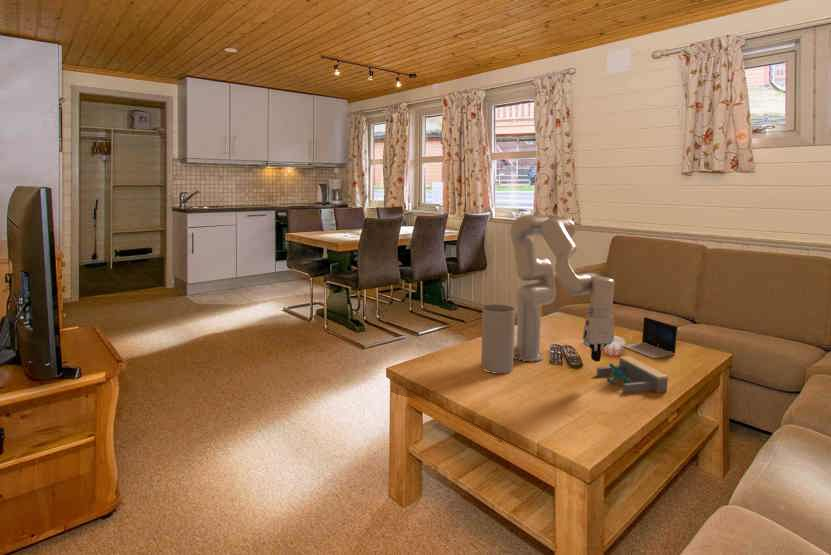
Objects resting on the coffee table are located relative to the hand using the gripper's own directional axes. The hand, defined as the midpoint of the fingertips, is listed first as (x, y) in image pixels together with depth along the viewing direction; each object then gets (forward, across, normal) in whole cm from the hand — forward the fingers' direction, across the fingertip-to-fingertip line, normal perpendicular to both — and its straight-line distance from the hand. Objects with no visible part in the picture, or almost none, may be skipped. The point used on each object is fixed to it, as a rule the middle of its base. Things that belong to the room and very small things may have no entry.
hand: (595, 360), depth 186 cm
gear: (+10, +10, -1) cm, 14 cm away
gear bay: (+9, +14, -1) cm, 17 cm away
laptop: (+10, +45, +28) cm, 54 cm away
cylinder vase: (+11, -29, +23) cm, 38 cm away
